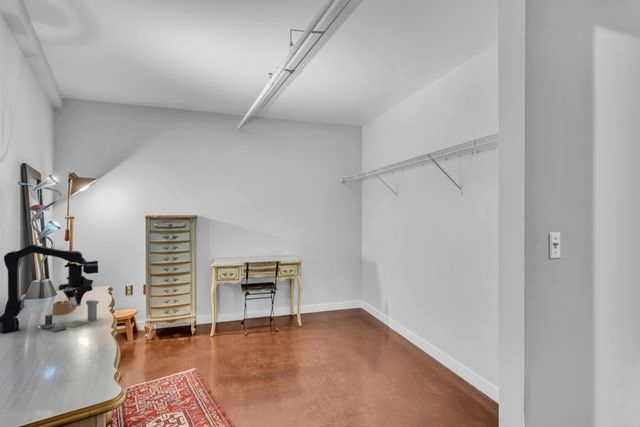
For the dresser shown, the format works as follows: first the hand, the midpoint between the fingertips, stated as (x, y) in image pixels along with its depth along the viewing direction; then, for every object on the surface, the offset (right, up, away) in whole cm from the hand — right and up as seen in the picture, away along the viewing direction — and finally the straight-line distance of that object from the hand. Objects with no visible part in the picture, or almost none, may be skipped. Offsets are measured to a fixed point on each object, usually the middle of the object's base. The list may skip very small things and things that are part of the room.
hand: (75, 303), depth 180 cm
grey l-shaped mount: (+1, -11, +3) cm, 11 cm away
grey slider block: (-9, -10, -10) cm, 16 cm away
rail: (-5, -11, -9) cm, 15 cm away
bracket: (-25, -12, +24) cm, 36 cm away
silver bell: (0, -1, 0) cm, 1 cm away
